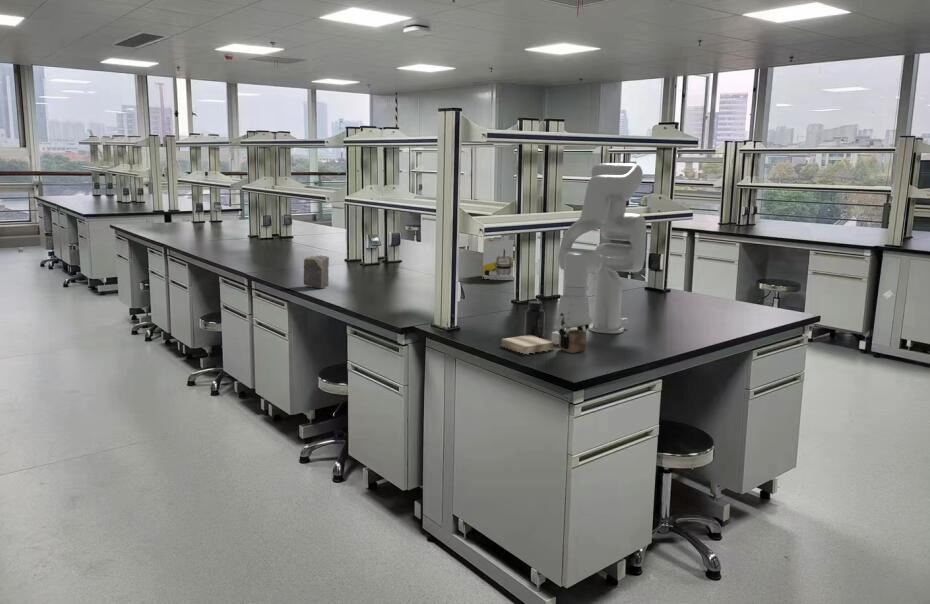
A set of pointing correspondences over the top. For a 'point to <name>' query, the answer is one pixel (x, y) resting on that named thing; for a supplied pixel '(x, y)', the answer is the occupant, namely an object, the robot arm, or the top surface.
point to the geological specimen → (316, 271)
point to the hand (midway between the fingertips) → (572, 346)
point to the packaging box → (498, 257)
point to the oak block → (527, 344)
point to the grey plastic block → (555, 337)
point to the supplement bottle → (534, 319)
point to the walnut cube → (575, 341)
